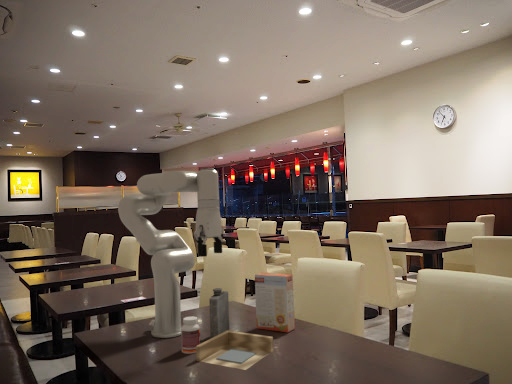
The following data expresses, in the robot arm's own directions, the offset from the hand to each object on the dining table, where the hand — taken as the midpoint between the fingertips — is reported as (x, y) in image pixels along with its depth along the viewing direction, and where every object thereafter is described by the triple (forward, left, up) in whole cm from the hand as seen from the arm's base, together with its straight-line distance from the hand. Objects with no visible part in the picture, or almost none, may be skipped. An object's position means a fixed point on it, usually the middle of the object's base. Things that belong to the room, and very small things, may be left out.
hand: (210, 254), depth 146 cm
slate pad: (+14, -8, -30) cm, 34 cm away
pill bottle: (-3, -9, -31) cm, 32 cm away
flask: (-2, +6, -31) cm, 32 cm away
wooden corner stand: (+14, -7, -31) cm, 35 cm away
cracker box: (+11, +25, -31) cm, 42 cm away
